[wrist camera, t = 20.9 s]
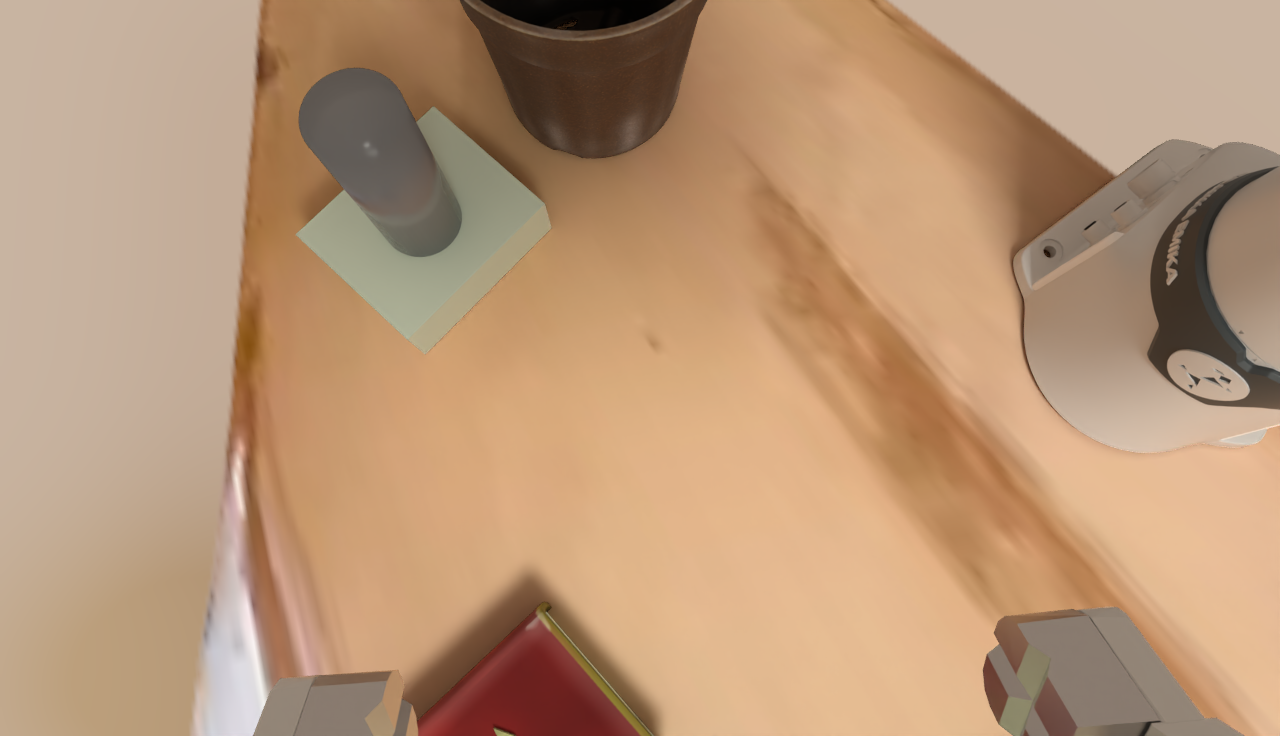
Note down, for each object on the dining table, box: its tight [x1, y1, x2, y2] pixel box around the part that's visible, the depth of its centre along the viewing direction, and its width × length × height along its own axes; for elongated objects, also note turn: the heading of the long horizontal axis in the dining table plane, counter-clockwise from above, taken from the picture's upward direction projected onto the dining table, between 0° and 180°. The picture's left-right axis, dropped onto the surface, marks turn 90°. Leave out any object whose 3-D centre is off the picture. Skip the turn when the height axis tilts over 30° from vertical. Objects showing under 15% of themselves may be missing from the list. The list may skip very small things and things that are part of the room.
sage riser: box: [296, 106, 552, 354], centre depth 49 cm, size 12×10×4 cm
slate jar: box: [299, 68, 462, 257], centre depth 41 cm, size 5×5×12 cm
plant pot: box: [460, 0, 707, 158], centre depth 46 cm, size 16×16×16 cm
